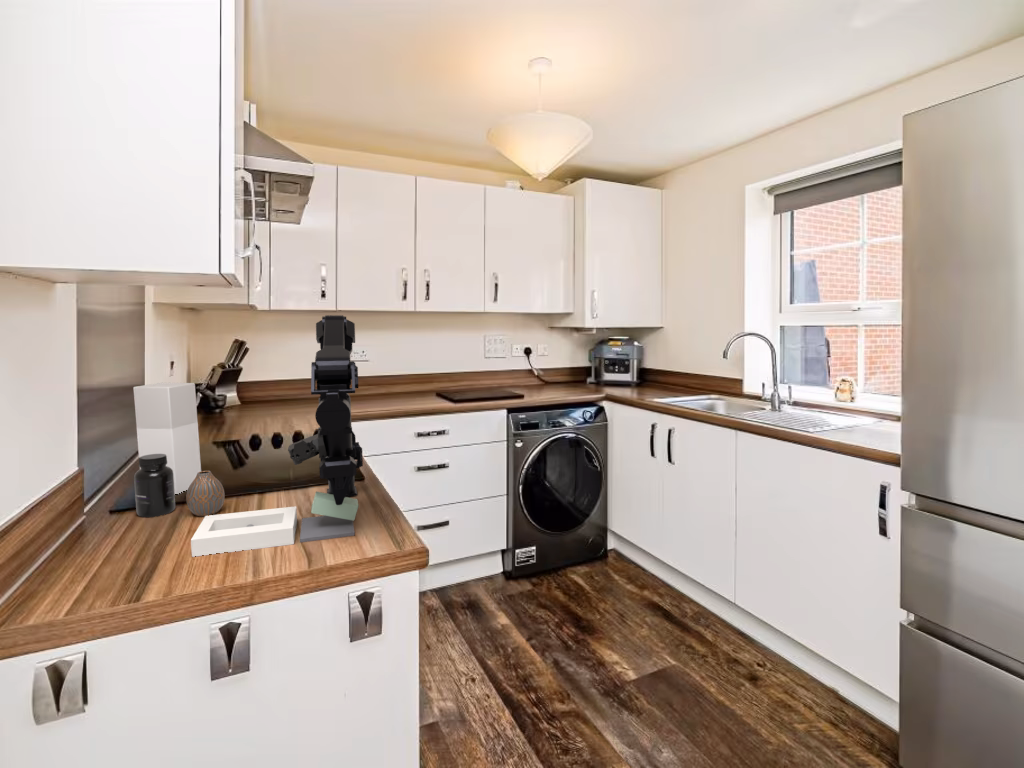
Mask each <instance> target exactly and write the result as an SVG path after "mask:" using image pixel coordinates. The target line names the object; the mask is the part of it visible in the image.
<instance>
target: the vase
mask: <svg viewBox="0 0 1024 768" xmlns="http://www.w3.org/2000/svg"><path fill="white" fill-rule="evenodd" d="M185 497H186V498H185V501H186V505H187V508H188V510H189V511H190V512H191V513H192V514H193V515H195V516H197V517H205V516H208V515H212V514H213V515H216V514H217V513H218V512H219V511H220V510H221V509H222V507H223V505H224V503H225V489H224V487H223V484H222V482H221V481H220V480H219V479H218V478H216V477H215V476H214V474H213V473H212V471H211V470H201V472H198V473H197V476H196V478H195V479H194V480H193V482H192V483H191V484H190V486H189V488H188V490H187V491H186V496H185Z"/></svg>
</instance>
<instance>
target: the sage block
mask: <svg viewBox="0 0 1024 768" xmlns="http://www.w3.org/2000/svg"><path fill="white" fill-rule="evenodd" d="M358 508H359V501H358V498H352V497H349V496H348V497H345V498H344V501H343V503H342V505H336V503H335V499H334V495H333V494H327V492H321V491H315V493H314V497H313V501H312V502H311V509H310V510H311V511H310V513H311V514H314V515H318V516H319V515H320V516H331V517H336V518H342V519H348V520H353V522H354V521H355V519H356V516H357V513H358Z"/></svg>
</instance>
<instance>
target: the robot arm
mask: <svg viewBox="0 0 1024 768" xmlns="http://www.w3.org/2000/svg"><path fill="white" fill-rule="evenodd" d="M321 319H322V320H319V321H317V322H316V323H315V339H316V342H317V344H319V345H320V347H319V348H320V349H319V350H317V351H316V353H315V357H314V358H315V359H314V361H312V362H311V367H310V368H311V370H310V371H311V373H310V374H311V376H310V385H311V387H310V393H311V396H313V395H314V396H316V395H320V396H319V397H318V406H317V408H316V411H315V421H316V423H317V425H318V426H319V427H318V431H317V434H314V435H311V436H308V437H305V438H304V439H303V438H302V439H300V440H299V441H295V442H293V443H291V444H290V445H288V448H287V451H288V453H289V455H290V456H289V457H290V459H291V460H292V461H293V464H294V465H295V466H297V465H300V464H302V463H303V462H304V461H307V460H309V459H312V458H314V457H317V456H318V458H319V459H320V462H319V468H318V470H319V479H322V480H323V479H326V480H327V482H328V488H326V493H327V494H333V495H334V499H335V503H336V505H342V503H343V501H344V498H345V497H348V498H349V497H355V496H358V491H357V485H355V476H356V475H357V469H360V468H362V467H363V465H364V462H363V461H364V460H363V458H364V457H363V447H361V444H360V442H359V441H356V438H357V437H356V434H355V432H354V431H353V427H352V407H351V406H352V405H351V402H352V401H351V396H350V394H356V389H359V374H358V373H359V368H358V366H357V365H356V362H355V361H354V360H351V354H352V353H353V344H355V343H356V325H355V322H353V321H350V320H349V319H347V316H344V315H342V314H339V315H338V314H331V315H330V314H328V315H327V314H326V315H324V316H322V317H321Z"/></svg>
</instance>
